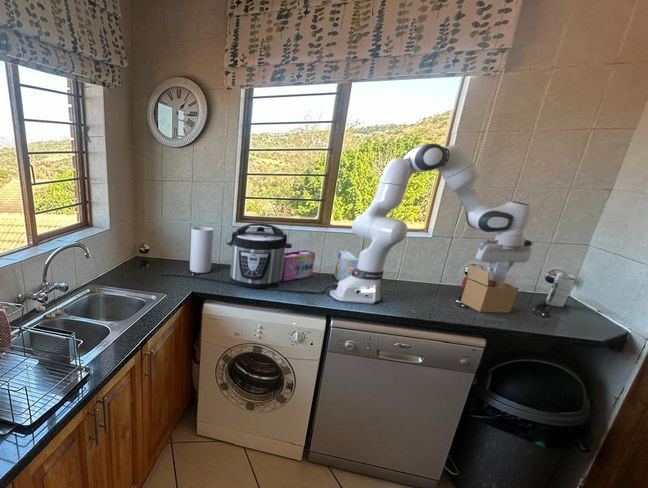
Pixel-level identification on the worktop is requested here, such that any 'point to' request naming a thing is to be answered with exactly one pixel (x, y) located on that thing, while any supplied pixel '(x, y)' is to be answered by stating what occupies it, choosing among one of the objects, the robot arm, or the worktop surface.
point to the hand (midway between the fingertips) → (497, 271)
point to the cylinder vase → (201, 249)
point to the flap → (478, 275)
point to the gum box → (298, 265)
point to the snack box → (345, 265)
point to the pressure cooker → (257, 256)
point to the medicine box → (499, 271)
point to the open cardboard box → (489, 296)
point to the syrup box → (560, 289)
